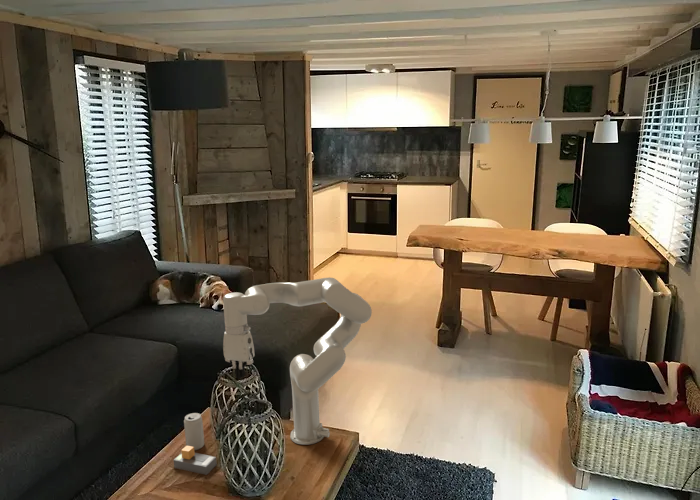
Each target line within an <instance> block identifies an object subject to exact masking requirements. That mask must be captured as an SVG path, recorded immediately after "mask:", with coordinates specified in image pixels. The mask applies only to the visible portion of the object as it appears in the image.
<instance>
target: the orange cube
mask: <svg viewBox="0 0 700 500" xmlns="http://www.w3.org/2000/svg"><path fill="white" fill-rule="evenodd" d="M180 453H182V458H185V459H191V458H192V457H193V456H194V455H195V453H196V452H195V450H194V447H192V446H186V445H185V446H184V447H183V448H182V449H181V452H180Z"/></svg>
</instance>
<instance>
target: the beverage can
mask: <svg viewBox="0 0 700 500" xmlns="http://www.w3.org/2000/svg"><path fill="white" fill-rule="evenodd" d="M203 423H204V422H203V417H202V415H201V413H198V412H192V413H188V414H186V415H185V416H184V420H183V426H184V427H183V428H184V436H185V446H192V447H194V451H197V450H200V449H202V448H203V447H204V445H205V435H204V424H203Z"/></svg>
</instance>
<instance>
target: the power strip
mask: <svg viewBox="0 0 700 500" xmlns="http://www.w3.org/2000/svg"><path fill="white" fill-rule="evenodd" d="M217 465H218V464H217V457H216V456H212V455H207V454H203V453H198V452H195V455H194V456H193V457H192V458H191V459H185V458H182V452H180V454H179V455H178V456H176V457H175V458H174V459H173V467H174V469H178V470H184V471H186V472H187V471H188V472H192V473H196V474H199V475H200V474H201V475H204V476H205V475H208V474H209V473H210V472H211V471H212V470H214V468H215V467H217Z"/></svg>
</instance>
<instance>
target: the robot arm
mask: <svg viewBox="0 0 700 500" xmlns="http://www.w3.org/2000/svg"><path fill="white" fill-rule="evenodd" d="M222 301H223V315H224V317H223V318H224V327H225V331H224V334H223V344H222V350H223V356H224V360H225V362H227V363H230V364H231V365H232V367H233V369H234V374H236V376H235V379H236V378H238V380H239V379H240V378H241V377H244V375H246V372H245V371H246V370H245V367H246V366H248V365H252V364H253V363H254V360H253V358H254V357H255V356H256V355H255V346H254V340H253V336H252V333H251V329H252V327H251V326H249V324H248V315H253V316H256V315H259V316H260V315H264V314H265V313H266V312H268V310H269V308H270V304H277V303H282V304H286V305H287V304H288V305H290V306H293V307H305V306H310V305H315V304H321V303H326V304H327V306H328V307H330V308H332V310H334V311H336V312H337V313H339V314H340V316H339V318H338V320H337V322H336V323H335V324H334V325H333V326H331V328H329V330H328V331H326V332H325V333H324V334H323V335H322V336H320V337H319V338H318V339H317V341H316V342H315V343H314V345H313V353H314V355H315V357H314V358H313V357H312V356H311V355H310V354H305V353H300V354H297V355H296V356H294V357H293V358H292V360H291V362H290V363H289V364H290V365H289V377H290V382H291V396H292V399H291V400H292V411H293V412H292V413H293V414H292V415H293V429H292V430H291V431H290V437H289V438H290V440H291V441H292V442H294V443H295V444H297V445H302V446H303V445H314V444H316V443H319V442H320V441H322V440H323V439H324V438H329V437H330V429H329V428H325V427H323V423H321V422H320V420H321V419H320V402H319V401H320V400H319V389H320V388H321V387H322V386H324V385H325V384H326V383H327V382H328V381H330V380H331V379H332V377H334V375H336V374H337V373H338V372H339V371H340V370H341V369H342V367H343V366H344V364H345V362H346V357H347V356H346V352H345V348H346V347H347V346H348V345H349V344H350V343H351V342H353V340H354V339H355V338H356V336H357V335H358V333H359V332H360V329H361V327H362V324H365V323H367V322H368V321H369V320H370V319H371V317H372V313H373V312H372V311H373V310H372V307H371V305H370V304H369V302H368V301H367V300H365V298H363V297H362V296H360V295H359V294H358V293H356V292H352V291H351V290H349V289H348V288H347V287H346V286H344V284H343V283H341V282H340V281H339V280H338V279H336V278H335V277H323V278H316V279H309V280H303V281H298V282H271V283H270V282H269V283H265V284H256V285H252V286H250V287H249V288H247V290H246V291H245V292H244V293H242V292H237V291H236V292H235V291H234V292H229V293H227V294H224V296H223V298H222ZM244 378H245V377H244Z"/></svg>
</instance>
